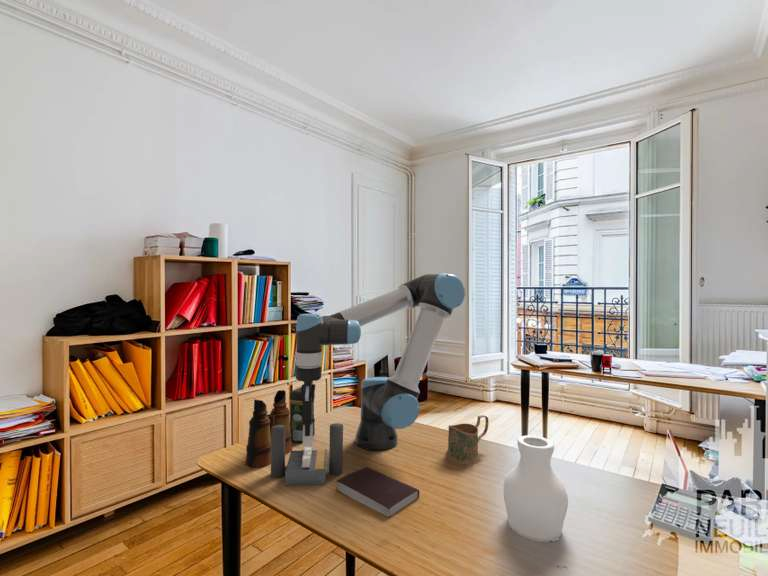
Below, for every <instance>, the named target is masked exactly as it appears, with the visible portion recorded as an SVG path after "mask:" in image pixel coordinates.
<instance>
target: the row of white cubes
mask: <svg viewBox="0 0 768 576" xmlns="http://www.w3.org/2000/svg"><path fill="white" fill-rule="evenodd" d="M312 450H313V445H312V446H304V454H303V459H302V468H303V467H310V460H311V454H312Z"/></svg>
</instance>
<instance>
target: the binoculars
mask: <svg viewBox="0 0 768 576" xmlns="http://www.w3.org/2000/svg"><path fill="white" fill-rule="evenodd" d="M253 400H254V401H253V411H252V417H251V418H250V420H249V421H248V422H249V423H248V425H249V429H248V438H247V445H246V456H245V462H244V463H245V465H246V466H248V467H250V468H249V469H252V468H258V469H263V468H265V467H266V466H267V467H268V465H269V466H271V428H272V426H275V425H284V426H285V456H286V455H288V454H290V453H291V451H293V445H292V440H291V432H290V413H291V410H290V409H289V408H288V407H287V404H288V403H287V402H286V390H281V389H279V390H277V392H276V393H275V395H274V398H273V403H272V407H273V408H271V411H270V413H269V414H268V410H267V409H268V408H267V404H266V403H265V402H264V401H263V400H261V399H255V398H254V399H253ZM245 465H244V466H245ZM246 466H245V467H246ZM248 467H247V468H248Z"/></svg>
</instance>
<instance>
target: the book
mask: <svg viewBox="0 0 768 576" xmlns="http://www.w3.org/2000/svg"><path fill="white" fill-rule="evenodd" d="M336 483H337V487H336V488H335V489H336V491H337V492H339V493H340V494H343V495H344V496H346V497H348V498H350V499H353V500H354V501H357V502H358V503H360V504H363V505H364V506H366V507H368V508H370V509H372V510H374V511H376V512H378V513H380V514H382V515H384V516H385V517H387V518H389V519H390V518H391V516H394V514H397V512H399V511H400V510H402V509H404V508H405V507H407V506H408V505H409V504H411V503H412V502H414V501H415V500H416V499H419V497H420V490H419V489H418V488H416V487H414V486H412V485H409V484H407V483H405V482H402V481H400V480H398V479H396V478H392V477H391V476H388V475H386V474H383V473H381V472H379V471H377V470H375V469H372V468H370V467H368V466H365V467H363V468H361V469H358V470H354V471H353V472H351V473H348V474H346V475H344V476H342V477H340V478H338V479H336Z"/></svg>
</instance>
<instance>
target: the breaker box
mask: <svg viewBox="0 0 768 576" xmlns="http://www.w3.org/2000/svg"><path fill="white" fill-rule="evenodd" d="M303 454H304V450H301V449H300V450H292V451H291V452H290V453H289V457H288V461H287V464H286V466H285V475H284V480H285V481H284V486H285V487H292V486H295V487H296V486H317V485H320V486H321V485H325V484H326V474H327V456H328V455H327V449H312V454H311V460H310V467H303V468H302V459H303Z"/></svg>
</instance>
